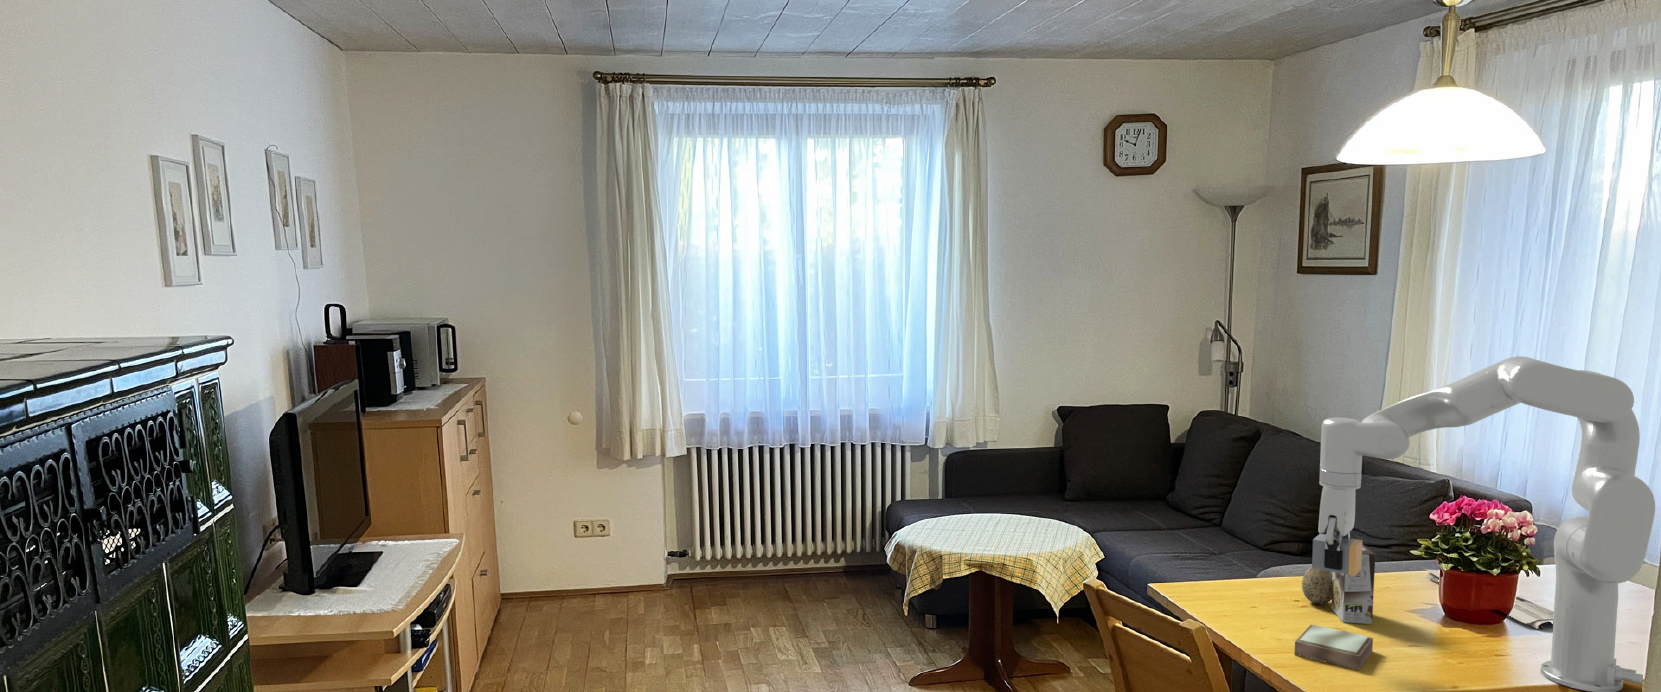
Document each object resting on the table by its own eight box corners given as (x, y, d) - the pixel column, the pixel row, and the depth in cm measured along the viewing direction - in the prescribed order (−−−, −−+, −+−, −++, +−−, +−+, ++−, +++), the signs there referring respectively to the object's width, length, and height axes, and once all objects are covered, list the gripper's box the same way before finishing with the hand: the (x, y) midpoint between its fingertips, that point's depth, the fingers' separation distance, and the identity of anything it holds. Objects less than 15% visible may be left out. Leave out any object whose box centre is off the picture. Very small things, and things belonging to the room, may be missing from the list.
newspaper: (1580, 630, 213) (1581, 614, 213) (1528, 633, 212) (1529, 617, 212) (1460, 578, 248) (1460, 564, 248) (1414, 580, 247) (1415, 566, 247)
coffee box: (1373, 624, 216) (1376, 554, 215) (1342, 622, 218) (1345, 552, 216) (1360, 610, 225) (1362, 542, 224) (1330, 608, 227) (1332, 541, 225)
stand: (1372, 651, 202) (1373, 636, 202) (1359, 670, 193) (1359, 654, 193) (1310, 637, 210) (1310, 622, 209) (1294, 654, 201) (1295, 639, 200)
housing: (1318, 561, 204) (1320, 533, 204) (1361, 568, 199) (1362, 540, 199) (1311, 567, 200) (1313, 539, 200) (1355, 575, 195) (1356, 546, 194)
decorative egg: (1339, 603, 230) (1340, 562, 229) (1329, 611, 225) (1330, 569, 224) (1307, 596, 235) (1308, 556, 234) (1296, 604, 230) (1298, 562, 229)
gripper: (1330, 468, 207) (1327, 551, 209) (1309, 483, 194) (1305, 571, 196) (1370, 473, 202) (1366, 558, 204) (1350, 489, 189) (1346, 579, 191)
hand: (1336, 564), depth 200 cm, fingers closed on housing, 5 cm apart
